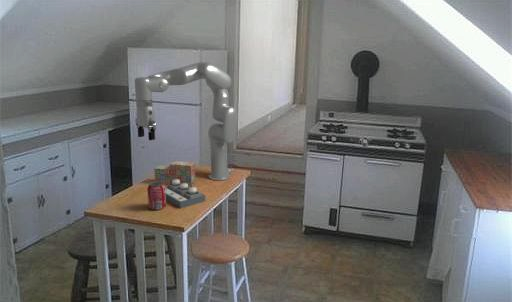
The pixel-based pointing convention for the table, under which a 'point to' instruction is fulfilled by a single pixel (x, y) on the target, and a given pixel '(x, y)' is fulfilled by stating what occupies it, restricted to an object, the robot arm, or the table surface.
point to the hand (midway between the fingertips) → (146, 138)
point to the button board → (182, 196)
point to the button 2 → (192, 190)
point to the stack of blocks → (176, 173)
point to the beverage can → (156, 195)
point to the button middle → (183, 186)
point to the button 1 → (175, 182)
